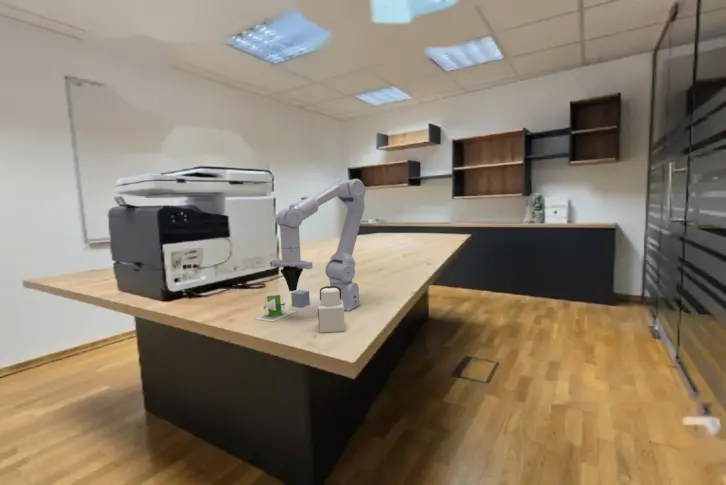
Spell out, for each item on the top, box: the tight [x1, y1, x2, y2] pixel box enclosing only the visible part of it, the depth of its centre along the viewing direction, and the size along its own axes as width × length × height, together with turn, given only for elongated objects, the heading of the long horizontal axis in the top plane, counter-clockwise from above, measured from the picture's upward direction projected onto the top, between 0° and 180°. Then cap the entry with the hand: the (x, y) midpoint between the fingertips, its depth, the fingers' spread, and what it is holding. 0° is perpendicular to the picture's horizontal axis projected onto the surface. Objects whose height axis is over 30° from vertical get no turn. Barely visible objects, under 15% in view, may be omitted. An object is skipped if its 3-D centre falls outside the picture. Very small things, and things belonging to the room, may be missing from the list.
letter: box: [253, 308, 298, 323], centre depth 120 cm, size 8×12×1 cm, turn 152°
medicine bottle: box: [317, 285, 346, 334], centre depth 105 cm, size 7×7×12 cm
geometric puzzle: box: [263, 294, 286, 317], centre depth 119 cm, size 7×7×8 cm
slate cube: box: [290, 289, 311, 309], centre depth 130 cm, size 4×4×5 cm
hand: (292, 290), depth 115 cm, fingers closed
